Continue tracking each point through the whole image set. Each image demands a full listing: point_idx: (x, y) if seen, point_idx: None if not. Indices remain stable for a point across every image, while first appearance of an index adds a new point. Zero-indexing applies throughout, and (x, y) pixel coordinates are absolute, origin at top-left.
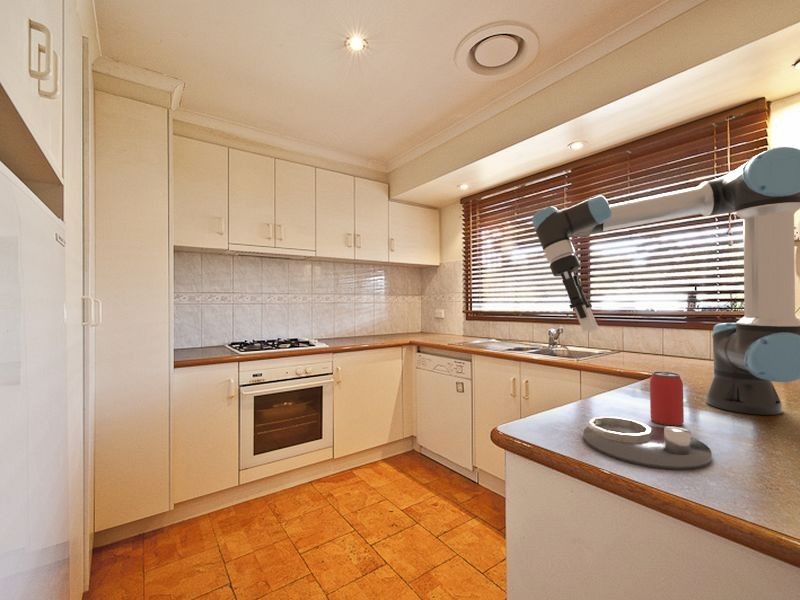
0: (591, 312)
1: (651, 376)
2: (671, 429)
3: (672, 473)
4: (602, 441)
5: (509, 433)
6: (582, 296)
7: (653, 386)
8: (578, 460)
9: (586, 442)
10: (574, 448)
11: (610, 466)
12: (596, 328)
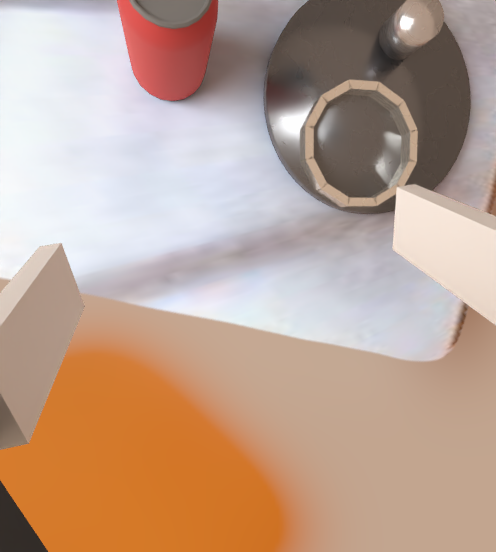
0: (7, 319)
1: (173, 37)
2: (425, 26)
3: (462, 53)
4: (427, 166)
5: (447, 334)
6: (17, 512)
7: (204, 46)
8: (493, 189)
9: None
10: None
11: (488, 141)
12: (64, 257)
